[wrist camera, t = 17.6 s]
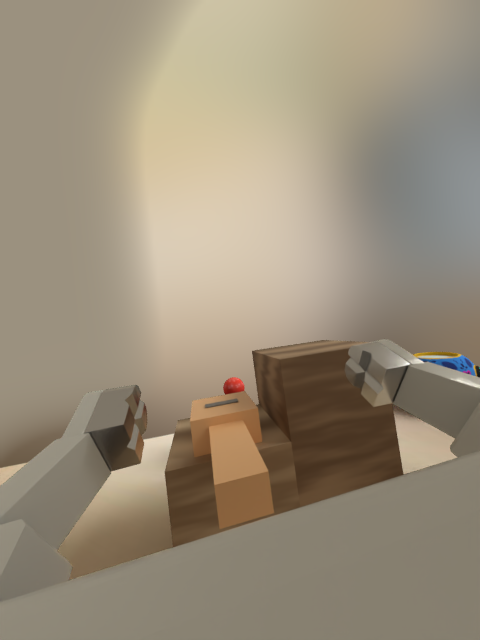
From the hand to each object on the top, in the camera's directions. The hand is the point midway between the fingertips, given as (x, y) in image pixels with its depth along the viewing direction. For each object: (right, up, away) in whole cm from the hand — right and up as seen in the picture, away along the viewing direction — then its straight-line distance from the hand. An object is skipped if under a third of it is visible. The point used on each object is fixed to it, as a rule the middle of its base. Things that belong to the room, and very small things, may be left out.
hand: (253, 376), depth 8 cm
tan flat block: (-2, -13, +17) cm, 21 cm away
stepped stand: (+6, -29, +23) cm, 37 cm away
